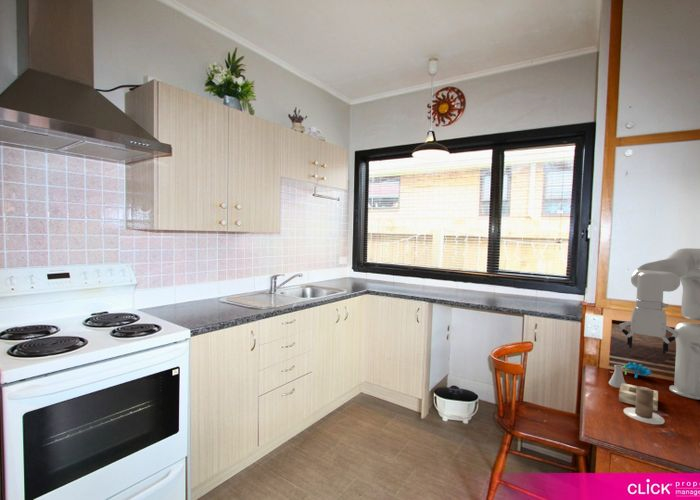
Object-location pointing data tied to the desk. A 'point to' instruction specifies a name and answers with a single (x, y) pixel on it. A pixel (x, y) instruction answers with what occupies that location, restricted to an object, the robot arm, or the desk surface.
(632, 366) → the blue toy figure
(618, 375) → the flask
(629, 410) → the white round dome
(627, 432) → the desk surface
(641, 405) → the walnut peg
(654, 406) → the birch holder
